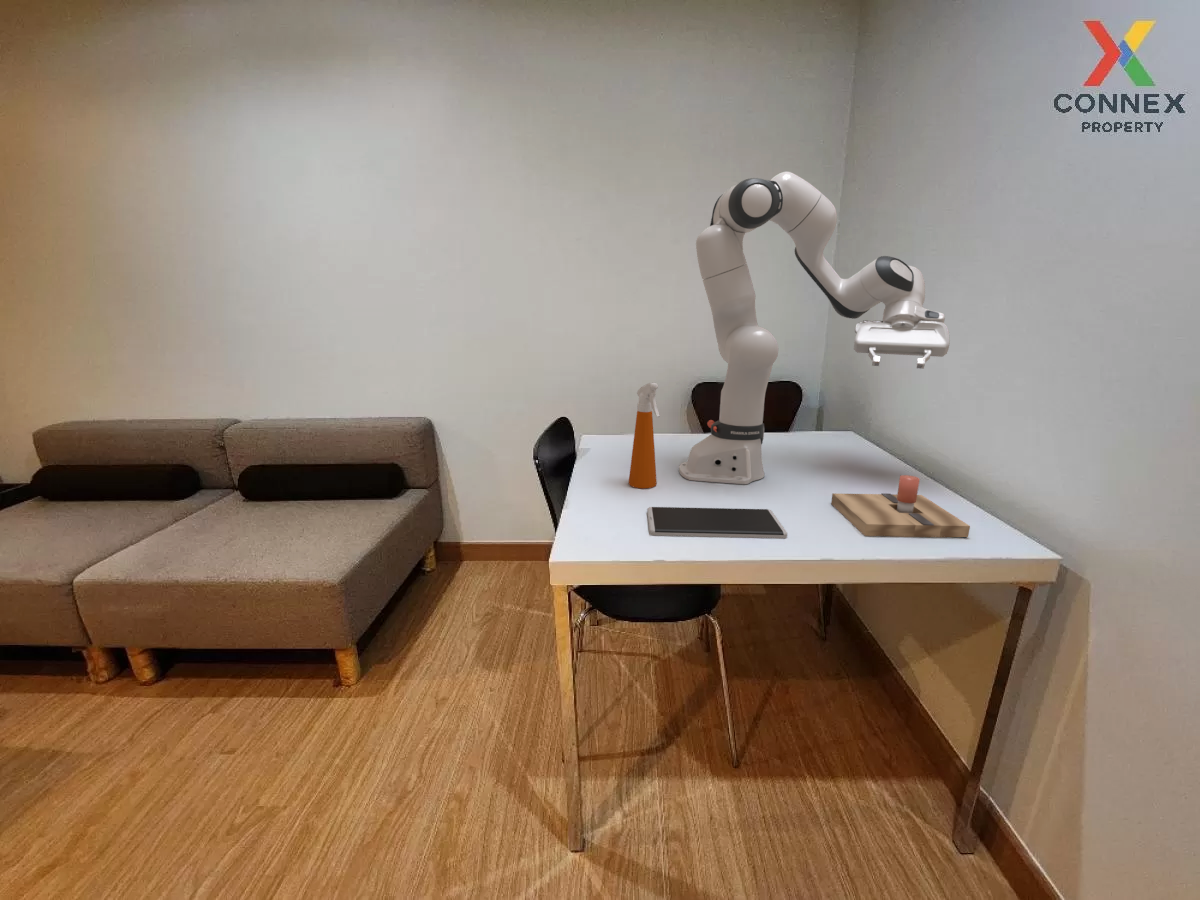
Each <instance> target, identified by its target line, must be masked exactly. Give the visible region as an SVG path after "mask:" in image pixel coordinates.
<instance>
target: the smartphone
mask: <svg viewBox="0 0 1200 900" xmlns="http://www.w3.org/2000/svg"><path fill="white" fill-rule="evenodd" d="M646 510H647V511H646V514H647V521H648V529H649V534H650V535H651V536H654V537H693V538H694V537H700V538H703V537H704V538H739V539H741V538H742V539H743V538H745V539H746V538H747V539H749V538H751V539H783V540H785V539H787V538H788V532H787V530H786V529H785V528H784V526H783V525H782V523H781V522H780V521H779V518H778V517H776V516H777V515H775V514H774V512H773V511H772V509H768V508H766V509H765V508H730V507H729V508H725V507H723V508H720V507H718V508H717V507H713V508H712V507H676V506H675V507H672V506H668V507H667V506H666V507H665V506H649V507H648V508H647V509H646Z"/></svg>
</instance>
